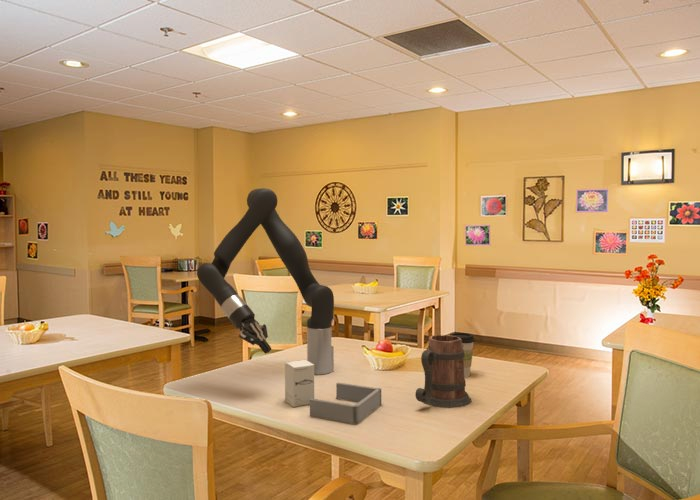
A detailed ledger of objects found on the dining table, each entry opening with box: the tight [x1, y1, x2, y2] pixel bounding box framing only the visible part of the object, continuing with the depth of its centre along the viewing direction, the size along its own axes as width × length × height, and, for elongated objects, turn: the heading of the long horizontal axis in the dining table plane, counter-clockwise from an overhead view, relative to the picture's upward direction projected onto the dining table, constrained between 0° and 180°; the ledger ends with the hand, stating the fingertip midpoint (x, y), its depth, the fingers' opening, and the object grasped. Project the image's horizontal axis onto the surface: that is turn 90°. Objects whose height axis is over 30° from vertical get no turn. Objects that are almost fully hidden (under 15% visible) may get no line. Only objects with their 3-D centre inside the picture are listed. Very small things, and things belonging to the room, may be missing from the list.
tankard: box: [415, 334, 472, 409], centre depth 170 cm, size 24×17×20 cm
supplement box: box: [284, 359, 315, 408], centre depth 169 cm, size 7×7×13 cm
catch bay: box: [309, 381, 382, 426], centre depth 162 cm, size 15×18×5 cm
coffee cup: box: [449, 332, 476, 378], centre depth 199 cm, size 10×10×15 cm
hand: (268, 351), depth 174 cm, fingers closed
